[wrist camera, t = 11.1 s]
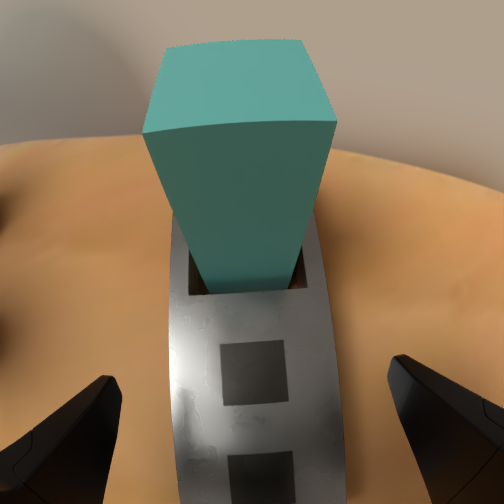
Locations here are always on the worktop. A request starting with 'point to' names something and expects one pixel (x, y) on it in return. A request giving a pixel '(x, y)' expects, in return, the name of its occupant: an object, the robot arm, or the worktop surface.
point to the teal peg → (240, 155)
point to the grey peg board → (255, 388)
